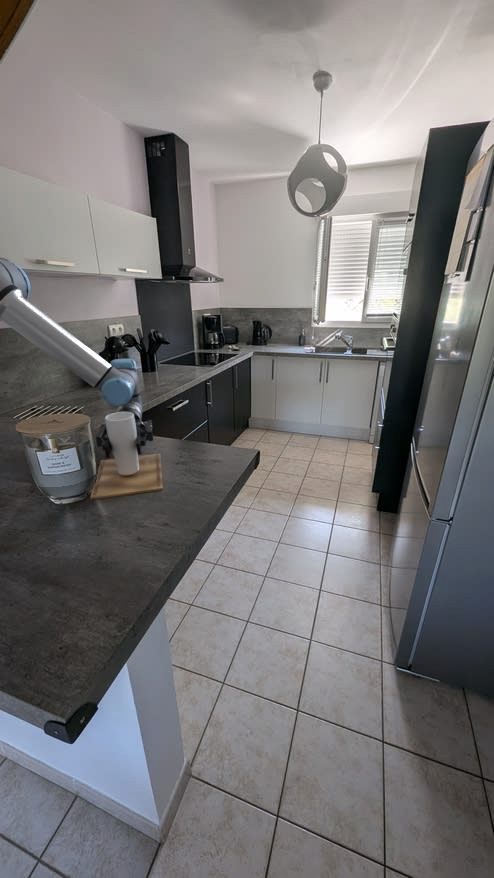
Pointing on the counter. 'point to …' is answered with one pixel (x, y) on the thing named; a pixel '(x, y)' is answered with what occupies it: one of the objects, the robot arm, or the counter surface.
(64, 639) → the counter surface
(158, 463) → the wooden cutting board
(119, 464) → the drinking glass
